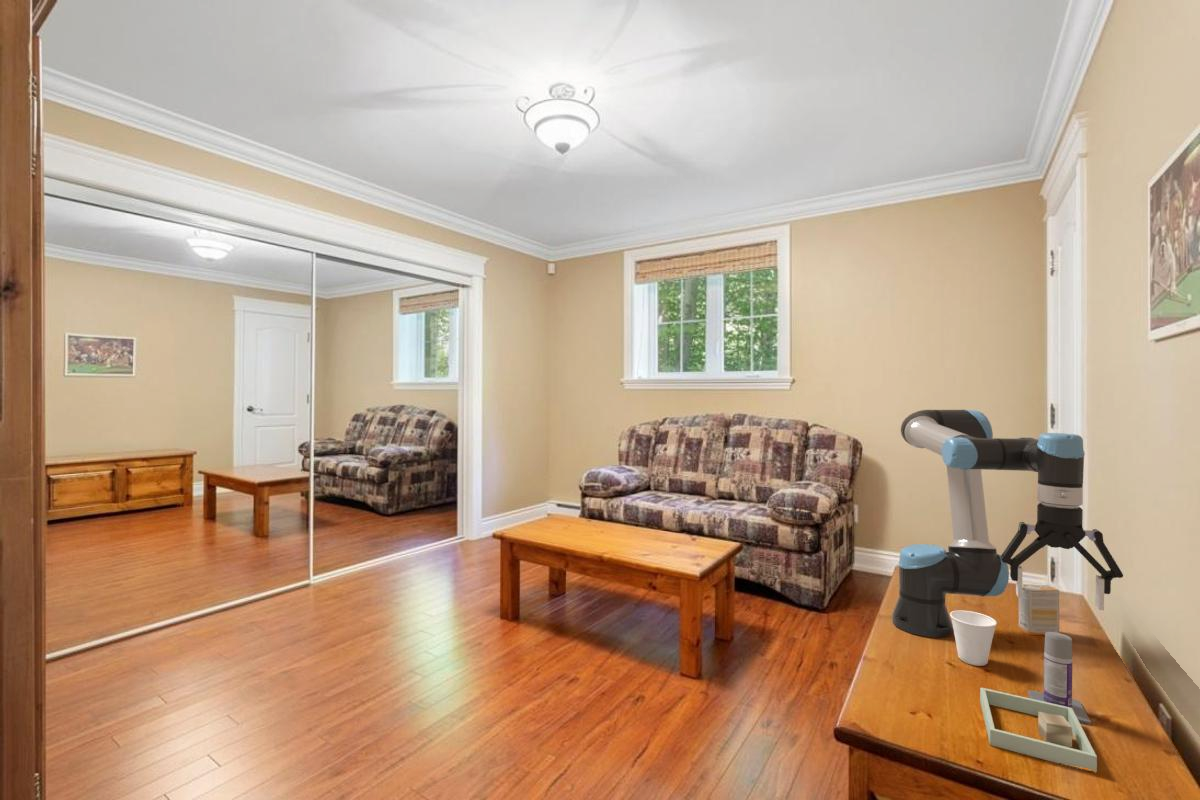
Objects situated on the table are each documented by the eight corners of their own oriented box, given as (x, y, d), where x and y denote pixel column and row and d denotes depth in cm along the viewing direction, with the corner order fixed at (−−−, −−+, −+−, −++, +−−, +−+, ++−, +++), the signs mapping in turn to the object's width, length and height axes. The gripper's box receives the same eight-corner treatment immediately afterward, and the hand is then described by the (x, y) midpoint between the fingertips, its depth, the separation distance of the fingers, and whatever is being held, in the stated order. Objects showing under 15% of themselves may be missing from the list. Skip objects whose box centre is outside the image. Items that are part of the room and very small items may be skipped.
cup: (988, 654, 141) (988, 612, 141) (1003, 673, 132) (1003, 628, 132) (944, 649, 144) (945, 608, 144) (955, 666, 135) (956, 623, 135)
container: (1057, 698, 120) (1058, 631, 120) (1077, 710, 115) (1078, 640, 115) (1037, 699, 119) (1038, 631, 119) (1057, 711, 115) (1058, 641, 115)
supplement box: (1047, 629, 157) (1048, 584, 157) (1060, 636, 152) (1060, 590, 152) (1017, 627, 158) (1017, 583, 158) (1028, 635, 153) (1029, 589, 153)
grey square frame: (990, 745, 105) (990, 729, 105) (980, 700, 120) (980, 687, 120) (1096, 773, 97) (1096, 756, 97) (1071, 722, 112) (1071, 707, 112)
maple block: (1046, 743, 105) (1046, 722, 105) (1038, 731, 109) (1038, 711, 109) (1071, 748, 104) (1072, 727, 104) (1062, 735, 108) (1062, 715, 108)
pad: (1035, 712, 116) (1035, 709, 116) (1027, 692, 123) (1027, 689, 123) (1091, 725, 111) (1091, 722, 111) (1079, 703, 119) (1079, 700, 119)
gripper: (991, 501, 120) (989, 596, 121) (1144, 514, 108) (1142, 620, 108) (987, 496, 127) (986, 585, 127) (1131, 507, 114) (1129, 607, 115)
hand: (1058, 601), depth 118 cm, fingers open, 13 cm apart
